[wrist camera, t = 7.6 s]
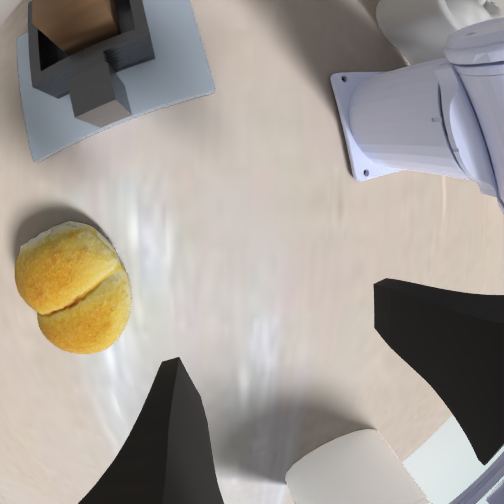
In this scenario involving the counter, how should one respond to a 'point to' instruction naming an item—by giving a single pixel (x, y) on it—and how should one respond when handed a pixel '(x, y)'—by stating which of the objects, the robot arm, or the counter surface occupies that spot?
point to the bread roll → (75, 287)
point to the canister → (353, 473)
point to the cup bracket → (93, 66)
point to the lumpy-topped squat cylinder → (429, 23)
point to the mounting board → (124, 80)
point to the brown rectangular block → (76, 22)
